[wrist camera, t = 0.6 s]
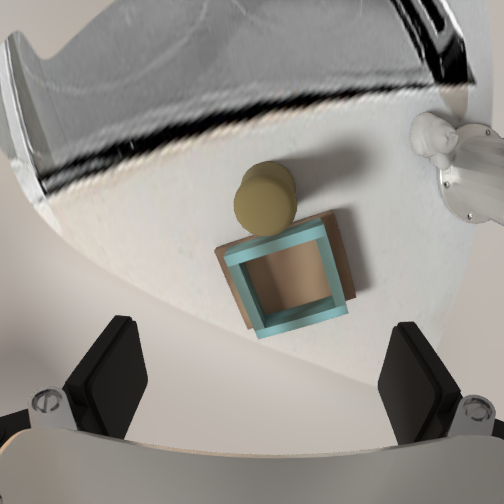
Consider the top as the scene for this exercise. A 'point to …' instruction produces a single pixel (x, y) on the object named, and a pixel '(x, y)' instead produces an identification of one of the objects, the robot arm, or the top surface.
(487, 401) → the robot arm
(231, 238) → the top surface
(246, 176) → the cork
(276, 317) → the board
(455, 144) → the rubber duck
